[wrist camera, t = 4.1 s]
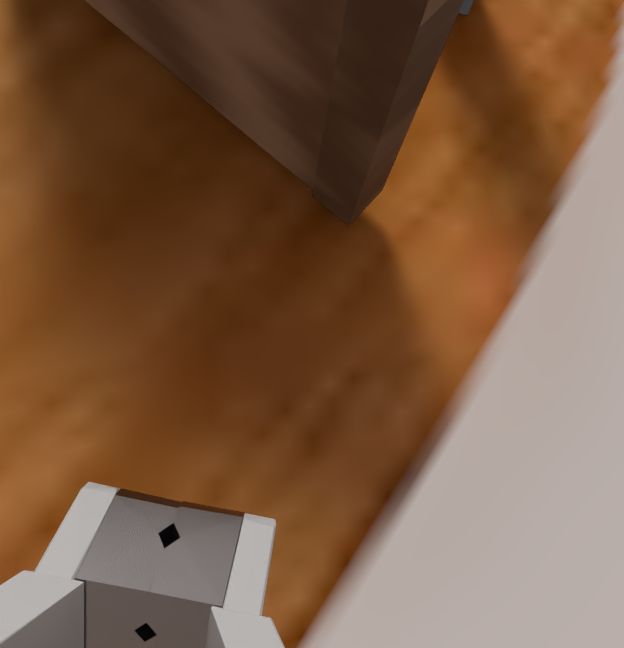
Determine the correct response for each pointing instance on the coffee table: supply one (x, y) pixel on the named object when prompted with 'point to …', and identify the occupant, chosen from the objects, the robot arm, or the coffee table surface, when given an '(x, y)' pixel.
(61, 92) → the coffee table surface
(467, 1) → the post
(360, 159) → the wooden gate panel
